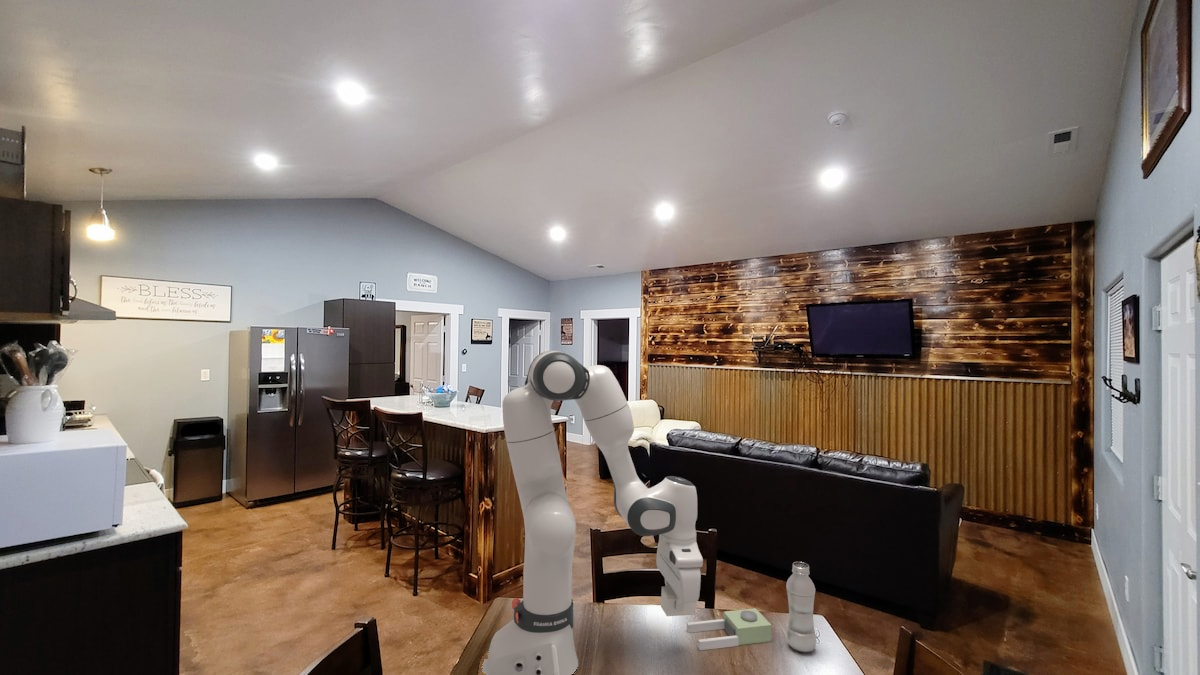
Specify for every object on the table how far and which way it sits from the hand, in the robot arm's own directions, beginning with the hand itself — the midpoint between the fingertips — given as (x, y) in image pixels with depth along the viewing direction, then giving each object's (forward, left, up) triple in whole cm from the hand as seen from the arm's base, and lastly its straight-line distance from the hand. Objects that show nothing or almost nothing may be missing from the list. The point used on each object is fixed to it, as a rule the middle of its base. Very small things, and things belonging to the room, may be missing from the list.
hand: (674, 603), depth 119 cm
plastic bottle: (+30, -5, -11) cm, 33 cm away
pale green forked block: (+15, +3, -11) cm, 19 cm away
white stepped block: (+1, 0, -2) cm, 2 cm away
